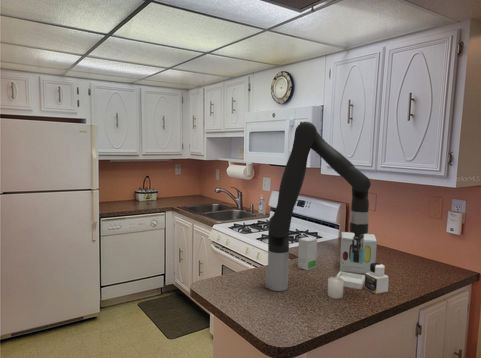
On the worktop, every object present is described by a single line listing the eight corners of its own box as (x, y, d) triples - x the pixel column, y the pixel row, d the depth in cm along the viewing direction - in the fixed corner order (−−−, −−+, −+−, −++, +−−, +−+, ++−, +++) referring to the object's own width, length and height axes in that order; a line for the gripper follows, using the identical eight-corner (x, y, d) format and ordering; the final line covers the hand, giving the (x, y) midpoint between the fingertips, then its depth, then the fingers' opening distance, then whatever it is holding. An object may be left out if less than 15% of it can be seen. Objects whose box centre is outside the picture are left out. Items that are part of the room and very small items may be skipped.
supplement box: (339, 271, 182) (341, 237, 180) (339, 263, 195) (341, 231, 193) (375, 275, 177) (377, 240, 176) (373, 267, 190) (374, 234, 188)
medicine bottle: (364, 288, 161) (365, 262, 160) (376, 285, 164) (377, 260, 163) (375, 294, 155) (377, 267, 154) (388, 291, 157) (389, 265, 156)
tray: (334, 284, 165) (334, 279, 164) (339, 276, 175) (339, 271, 175) (361, 289, 159) (361, 284, 159) (364, 280, 170) (365, 275, 170)
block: (350, 261, 152) (350, 250, 151) (352, 258, 156) (352, 247, 156) (362, 263, 149) (362, 252, 149) (364, 260, 154) (364, 249, 153)
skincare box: (306, 270, 183) (307, 241, 181) (296, 267, 188) (297, 238, 186) (316, 267, 188) (317, 238, 187) (306, 264, 193) (307, 236, 192)
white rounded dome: (326, 296, 151) (326, 280, 151) (329, 291, 157) (330, 276, 156) (341, 299, 148) (342, 283, 148) (344, 294, 154) (344, 278, 153)
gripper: (353, 217, 159) (351, 254, 161) (346, 223, 147) (344, 263, 148) (370, 219, 156) (368, 257, 157) (365, 225, 143) (363, 266, 145)
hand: (357, 260), depth 153 cm, fingers closed on block, 5 cm apart
